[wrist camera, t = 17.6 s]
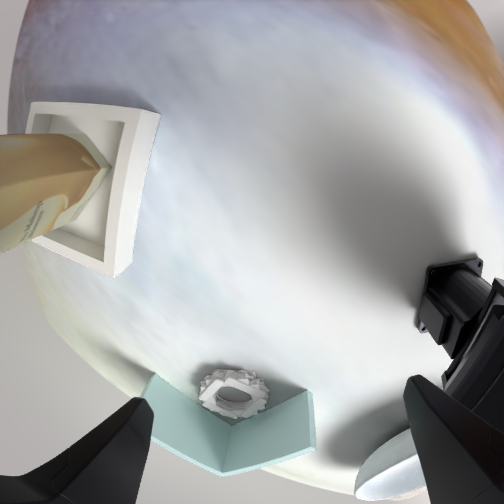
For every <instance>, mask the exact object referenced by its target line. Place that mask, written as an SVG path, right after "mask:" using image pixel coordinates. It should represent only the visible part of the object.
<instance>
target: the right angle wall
mask: <svg viewBox="0 0 504 504" xmlns="http://www.w3.org/2000/svg"><path fill="white" fill-rule="evenodd" d="M255 377H256V373H255V372H251V371H244V370H239V371H237V370H229V369H228V370H221V369H213V373H212V375H206V377H204V381H201V382H200V384H201V387H200V389H201V391H200V392H199V396H198V399H200V400H202V401H204V403H203V404H202V405H203V406H204V407H206V408H209V410H210V411H215V412H218V413H220V415H221V416H227V417H230V418H232V419H237V418H238V417H239V416H241V417H243V418H248V419H246V420H244V421H241V422H239V423H237V424H234V425H232V426H231V425H230V424H228V423H226V422H225V421H223V420H222V419H220V418H218V417H217V416H215V415H214V414H212V413H210V412H209V411H207V410H206V409H204V408H203V407H201V406H200V405H198V404H197V403H195V402H194V401H193V400H191V399H190V398H188V397H187V396H185V395H184V394H183V393H181V392H180V391H178V390H177V389H176V388H174V387H173V386H172V385H170V384H169V383H168V382H166V381H165V380H164V379H163V378H161V377H160V376H159V375H157V374H156V373H155V374H154V375H152V376H151V377H150V379H149V381H148V383H147V385H146V387H145V388H144V390H143V392H142V394H141V396H140V397H141V398H145V399H146V400H147V402H148V404H149V405H150V407H151V408H152V410H153V412H154V421H153V427H152V434H151V440H152V441H153V442H155V443H157V444H159V445H160V446H162V447H163V448H166V449H167V450H169V451H170V452H172V453H174V454H176V455H178V456H180V457H182V458H183V459H185V460H187V461H189V462H191V463H193V464H195V465H197V466H199V467H201V468H203V469H206V470H208V471H210V472H212V473H214V474H217V475H219V476H221V477H225V476H229V475H234V474H239V473H243V472H247V471H251V470H255V469H259V468H263V467H266V466H270V465H273V464H277V463H280V462H283V461H286V460H289V459H292V458H295V457H298V456H301V455H304V454H306V453H309V452H312V451H314V450H317V448H316V432H315V419H314V406H313V395H312V393H311V392H310V391H308V390H306V391H304V392H302V393H300V394H298V395H296V396H294V397H293V398H291V399H289V400H287V401H285V402H283V403H281V404H279V405H277V406H275V407H272V408H270V409H268V410H266V411H264V412H262V413H260V414H258V410H263V409H265V403H266V402H267V399H268V398H269V394H267V393H268V392H270V390H269V389H268V388H267V387H266V386H264V379H263V378H256V379H255ZM231 386H232V387H234V388H237V389H239V390H241V391H243V392H246V393H248V394H250V395H251V398H252V399H250V400H248V401H246V402H234V401H226V400H224V399H223V398H222V397H220V396H219V395H218V391H217V390H218V389H219V388H220V387H231ZM251 415H255V416H253V417H251V418H249V417H250V416H251Z"/></svg>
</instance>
